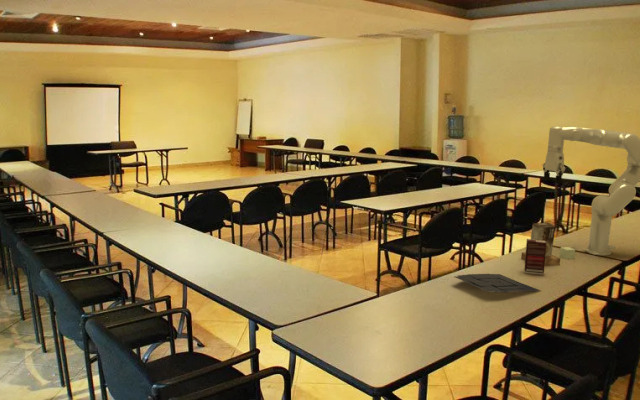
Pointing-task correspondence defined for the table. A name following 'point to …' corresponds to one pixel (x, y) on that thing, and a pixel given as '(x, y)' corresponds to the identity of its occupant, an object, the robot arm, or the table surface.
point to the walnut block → (546, 259)
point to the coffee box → (544, 235)
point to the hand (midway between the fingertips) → (552, 181)
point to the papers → (495, 283)
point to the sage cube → (567, 253)
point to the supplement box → (535, 256)
